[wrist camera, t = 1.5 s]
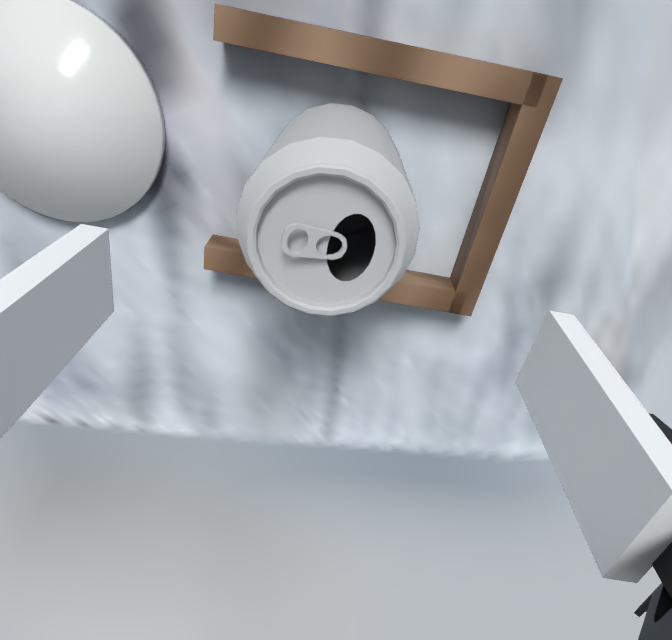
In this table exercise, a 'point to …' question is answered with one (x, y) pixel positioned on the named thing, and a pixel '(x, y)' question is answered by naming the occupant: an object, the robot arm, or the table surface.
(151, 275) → the table surface
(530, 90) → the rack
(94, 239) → the robot arm
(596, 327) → the table surface
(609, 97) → the table surface
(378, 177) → the can
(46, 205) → the white glossy ellipsoid
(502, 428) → the table surface
